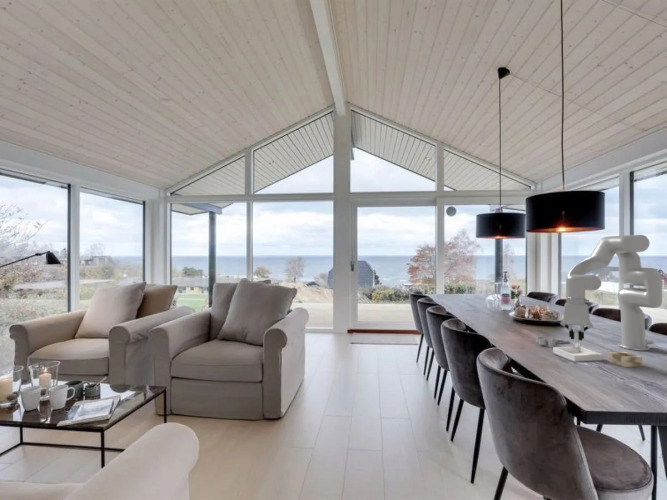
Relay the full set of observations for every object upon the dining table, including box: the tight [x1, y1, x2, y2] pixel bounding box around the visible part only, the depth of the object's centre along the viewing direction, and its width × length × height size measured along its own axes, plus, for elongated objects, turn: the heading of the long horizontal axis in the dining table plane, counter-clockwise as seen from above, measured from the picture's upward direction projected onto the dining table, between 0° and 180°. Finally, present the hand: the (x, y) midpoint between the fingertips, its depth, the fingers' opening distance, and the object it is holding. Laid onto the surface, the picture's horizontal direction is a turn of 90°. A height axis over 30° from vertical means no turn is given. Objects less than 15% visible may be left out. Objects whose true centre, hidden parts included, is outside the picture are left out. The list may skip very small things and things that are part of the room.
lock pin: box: [572, 328, 582, 350], centre depth 165 cm, size 3×3×9 cm
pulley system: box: [535, 336, 570, 349], centre depth 189 cm, size 27×5×15 cm
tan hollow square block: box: [608, 351, 643, 368], centre depth 153 cm, size 8×8×5 cm
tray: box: [552, 346, 604, 364], centre depth 165 cm, size 14×14×4 cm
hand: (576, 339), depth 165 cm, fingers closed on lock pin, 3 cm apart
